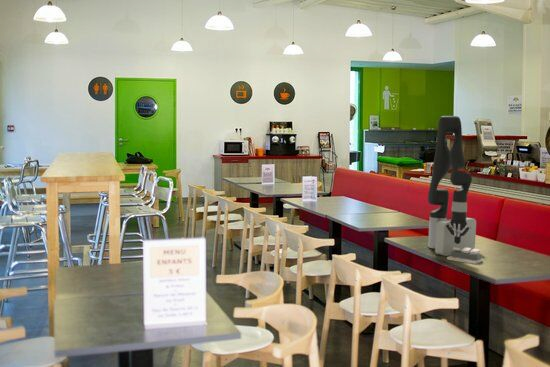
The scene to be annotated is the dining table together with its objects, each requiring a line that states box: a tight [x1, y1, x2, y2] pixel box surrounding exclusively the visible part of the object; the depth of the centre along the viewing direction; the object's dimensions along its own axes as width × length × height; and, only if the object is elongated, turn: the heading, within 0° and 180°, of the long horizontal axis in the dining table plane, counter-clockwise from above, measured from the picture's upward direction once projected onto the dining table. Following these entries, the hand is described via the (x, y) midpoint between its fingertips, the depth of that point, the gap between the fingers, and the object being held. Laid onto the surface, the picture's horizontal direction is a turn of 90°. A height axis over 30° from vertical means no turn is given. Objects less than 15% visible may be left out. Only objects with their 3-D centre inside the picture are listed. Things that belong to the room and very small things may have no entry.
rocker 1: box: [462, 247, 471, 253], centre depth 346 cm, size 5×3×1 cm, turn 142°
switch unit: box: [446, 250, 484, 265], centre depth 345 cm, size 10×15×4 cm, turn 52°
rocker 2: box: [470, 248, 481, 254], centre depth 343 cm, size 5×3×1 cm, turn 142°
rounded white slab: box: [434, 217, 477, 257], centre depth 364 cm, size 29×8×18 cm, turn 129°
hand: (457, 243), depth 347 cm, fingers closed
